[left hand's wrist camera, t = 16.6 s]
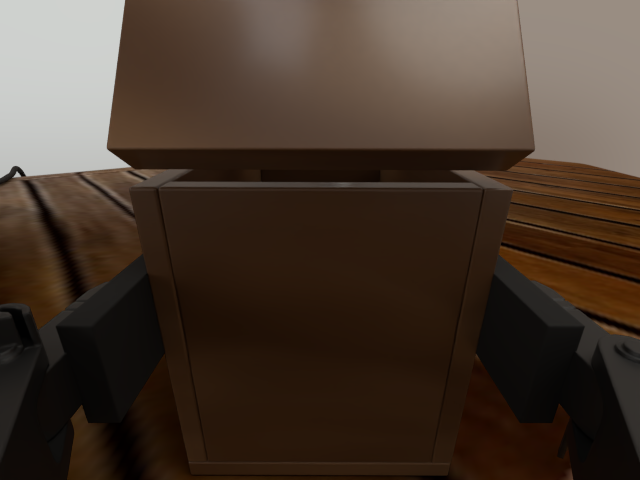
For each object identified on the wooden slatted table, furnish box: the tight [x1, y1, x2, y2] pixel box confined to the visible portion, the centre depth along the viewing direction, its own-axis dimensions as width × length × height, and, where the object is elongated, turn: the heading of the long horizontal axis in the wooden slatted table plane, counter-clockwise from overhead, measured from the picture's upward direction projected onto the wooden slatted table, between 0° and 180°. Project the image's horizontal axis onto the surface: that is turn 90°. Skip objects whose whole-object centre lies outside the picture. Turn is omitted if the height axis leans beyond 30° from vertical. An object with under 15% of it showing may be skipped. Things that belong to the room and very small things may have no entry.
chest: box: [129, 169, 513, 476], centre depth 17 cm, size 15×9×11 cm, turn 0°
